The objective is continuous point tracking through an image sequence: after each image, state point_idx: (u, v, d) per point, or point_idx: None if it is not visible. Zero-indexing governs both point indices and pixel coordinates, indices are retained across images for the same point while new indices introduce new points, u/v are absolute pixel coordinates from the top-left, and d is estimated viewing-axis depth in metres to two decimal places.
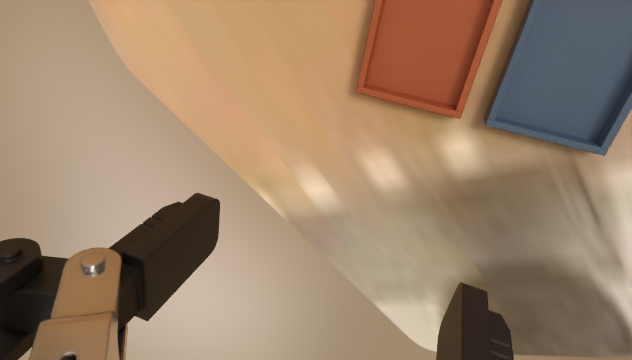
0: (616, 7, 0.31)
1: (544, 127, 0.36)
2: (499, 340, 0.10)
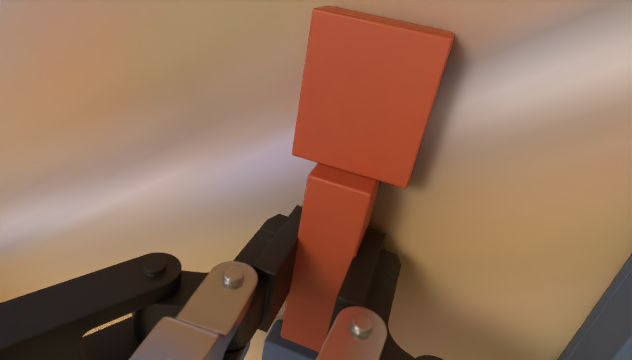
0: None
1: None
2: (388, 271, 0.12)
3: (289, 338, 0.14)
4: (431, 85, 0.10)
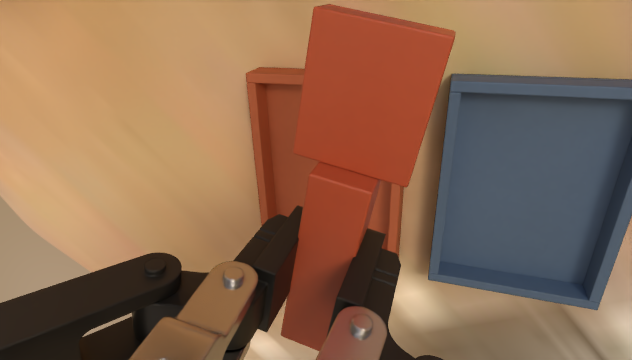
0: (562, 123, 0.22)
1: (508, 270, 0.26)
2: (388, 271, 0.12)
3: (289, 337, 0.14)
4: (432, 84, 0.10)
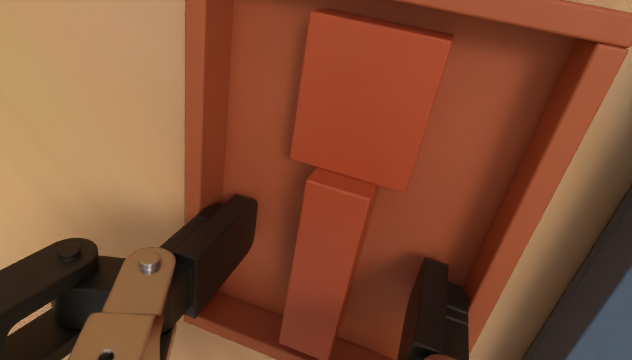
0: None
1: None
2: (457, 307, 0.11)
3: (287, 344, 0.14)
4: (430, 88, 0.09)
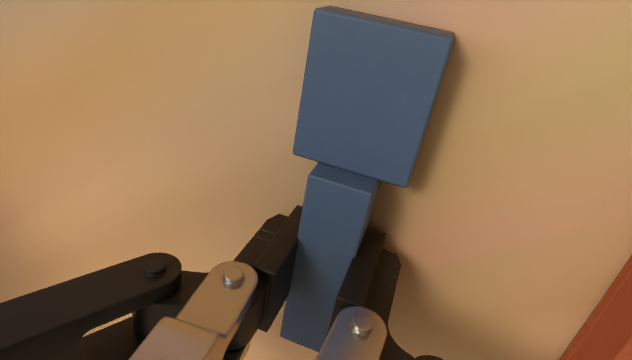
0: None
1: None
2: (388, 271, 0.12)
3: None
4: None
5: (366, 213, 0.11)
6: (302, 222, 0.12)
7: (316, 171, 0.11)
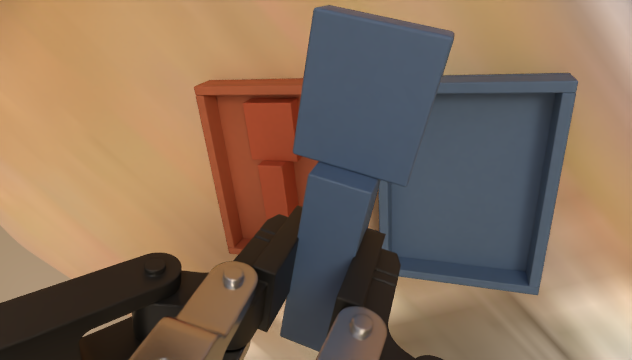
0: (486, 118, 0.23)
1: (456, 261, 0.28)
2: (388, 271, 0.12)
3: None
4: (290, 120, 0.26)
5: (366, 212, 0.11)
6: (302, 221, 0.12)
7: (316, 170, 0.11)
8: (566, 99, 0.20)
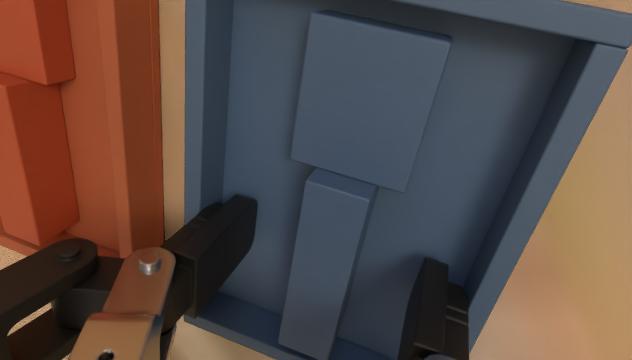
0: None
1: None
2: (457, 307, 0.11)
3: (10, 232, 0.16)
4: None
5: (364, 219, 0.11)
6: (300, 228, 0.11)
7: (313, 177, 0.11)
8: (600, 61, 0.08)
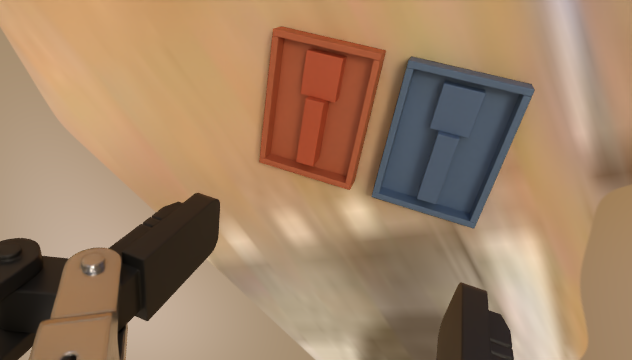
0: None
1: None
2: (499, 340, 0.10)
3: (299, 161, 0.39)
4: (338, 71, 0.35)
5: (456, 146, 0.34)
6: (433, 151, 0.35)
7: (439, 133, 0.34)
8: (525, 99, 0.31)
